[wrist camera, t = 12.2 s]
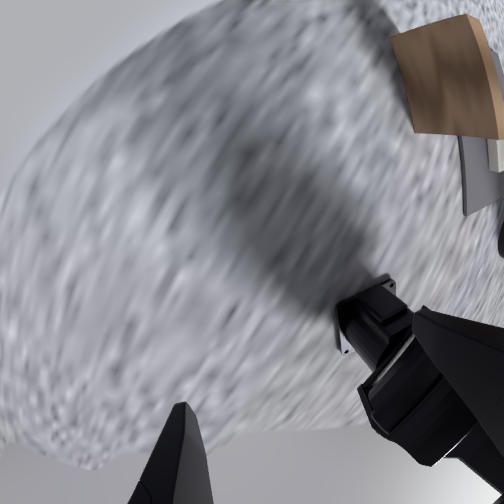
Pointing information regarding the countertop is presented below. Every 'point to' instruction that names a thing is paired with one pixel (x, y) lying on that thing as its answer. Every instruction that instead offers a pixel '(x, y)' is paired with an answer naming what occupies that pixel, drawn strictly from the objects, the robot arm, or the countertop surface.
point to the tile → (496, 155)
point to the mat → (480, 166)
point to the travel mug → (501, 242)
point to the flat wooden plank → (451, 79)
